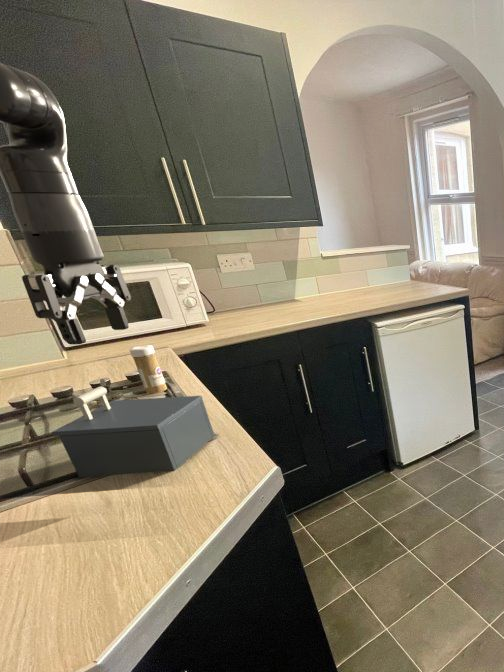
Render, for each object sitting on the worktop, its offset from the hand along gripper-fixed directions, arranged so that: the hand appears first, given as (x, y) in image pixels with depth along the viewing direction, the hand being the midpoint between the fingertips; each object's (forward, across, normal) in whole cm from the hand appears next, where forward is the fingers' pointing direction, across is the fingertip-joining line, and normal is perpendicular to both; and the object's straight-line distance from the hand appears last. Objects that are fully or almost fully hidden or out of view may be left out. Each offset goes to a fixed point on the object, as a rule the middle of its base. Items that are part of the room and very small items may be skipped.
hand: (100, 336), depth 67 cm
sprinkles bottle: (+26, -38, -24) cm, 52 cm away
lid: (+16, -3, -2) cm, 16 cm away
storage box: (+26, -3, -2) cm, 26 cm away
